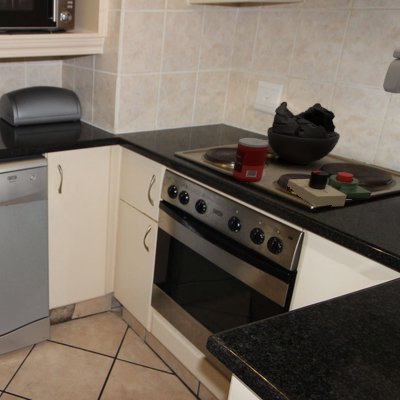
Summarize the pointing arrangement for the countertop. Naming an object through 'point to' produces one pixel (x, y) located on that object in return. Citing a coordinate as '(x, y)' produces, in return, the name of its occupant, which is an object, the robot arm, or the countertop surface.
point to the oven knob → (318, 179)
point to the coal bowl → (303, 134)
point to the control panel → (317, 193)
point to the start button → (344, 176)
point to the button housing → (349, 188)
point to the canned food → (250, 159)
